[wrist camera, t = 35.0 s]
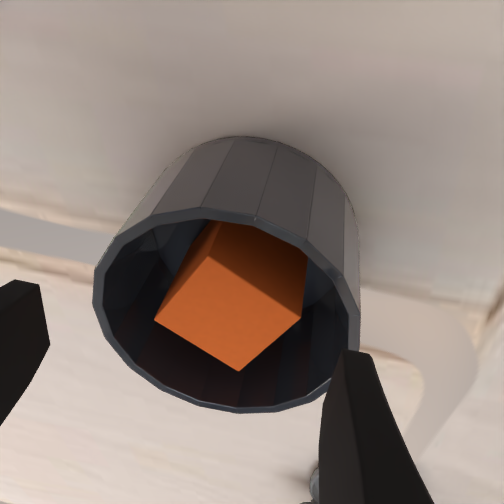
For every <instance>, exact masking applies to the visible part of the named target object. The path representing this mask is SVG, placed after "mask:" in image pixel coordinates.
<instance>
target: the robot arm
mask: <svg viewBox="0 0 504 504" xmlns="http://www.w3.org/2000/svg"><path fill="white" fill-rule="evenodd" d="M49 346H50V340H49V335H48V329H47V324H46V319H45V313H44V308H43V303H42V297H41V292H40V287H39V284H34V283H29V282H25V281H20V280H13V281H11V282H9V283H7V284H5V285H4V286H2V287H0V426H1V424H2V423H3V422H4V420H5V419H6V417H7V416H8V414H9V413H10V412H11V410H12V409H13V407H14V406H15V404H16V403H17V401H18V400H19V399H20V397H21V396H22V394H23V393H24V391H25V390H26V388H27V387H28V385H29V384H30V382H31V381H32V379H33V377H34V375H35V373H36V371H37V370H38V368H39V366H40V364H41V362H42V360H43V358H44V356H45V354H46V352H47V350H48V348H49ZM319 504H434V502H433V500H432V498H431V496H430V494H429V492H428V490H427V488H426V486H425V484H424V482H423V480H422V478H421V476H420V474H419V472H418V470H417V468H416V466H415V464H414V462H413V460H412V458H411V456H410V454H409V451H408V449H407V447H406V445H405V442H404V440H403V438H402V435H401V433H400V431H399V429H398V426H397V424H396V422H395V419H394V417H393V414H392V412H391V409H390V407H389V404H388V402H387V399H386V397H385V394H384V391H383V388H382V386H381V383H380V380H379V377H378V374H377V371H376V368H375V365H374V362H373V359H372V357H371V356H370V354H367V353H363V352H358V351H353V350H348V349H343V348H342V350H341V353H340V356H339V359H338V362H337V365H336V368H335V371H334V374H333V376H332V379H331V382H330V385H329V388H328V391H327V394H326V397H325V400H324V402H323V408H322V418H321V427H320V438H319Z"/></svg>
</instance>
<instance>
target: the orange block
mask: <svg viewBox="0 0 504 504" xmlns="http://www.w3.org/2000/svg"><path fill="white" fill-rule="evenodd" d="M307 263H308V256H307V255H306V254H305V253H304V252H302V251H301V250H300V249H299V248H298V247H296V246H294V245H291V244H289V243H287V242H285V241H283V240H281V239H279V238H277V237H275V236H273V235H271V234H268V233H266V232H264V231H262V230H260V229H258V228H256V227H254V226H250V225H243V224H237V223H230V222H224V221H217V220H211V221H210V222H209V223H208V224H207V226H206V227H205V228H204V229H203V231H202V232H201V233H200V234H199V236H198V237H197V238H196V239H195V241H194V242H193V243H192V244H191V246H190V247H189V249H188V251H187V253H186V255H185V257H184V259H183V261H182V263H181V265H180V267H179V269H178V271H177V273H176V275H175V277H174V279H173V281H172V283H171V286H170V288H169V290H168V292H167V294H166V296H165V298H164V300H163V302H162V304H161V306H160V308H159V310H158V312H157V314H156V316H155V318H154V320H155V321H156V322H158V323H160V324H161V325H163V326H165V327H166V328H168V329H170V330H171V331H173V332H175V333H176V334H178V335H179V336H181V337H183V338H184V339H186V340H188V341H189V342H191V343H193V344H194V345H196V346H197V347H199V348H201V349H202V350H204V351H206V352H207V353H209V354H211V355H212V356H214V357H215V358H217V359H219V360H220V361H222V362H224V363H225V364H227V365H229V366H230V367H232V368H233V369H235V370H237V371H240V370H241V369H242V368H243V367H245V366H246V365H247V364H248V363H249V362H250V361H252V360H253V359H254V358H255V357H256V356H257V355H259V354H260V353H261V352H262V351H263V350H264V349H265V348H267V347H268V346H269V345H270V344H271V343H272V342H274V341H275V340H276V339H277V338H278V337H279V336H281V335H282V334H283V333H284V332H285V331H286V330H288V329H289V328H290V327H291V326H292V325H293V324H295V323H296V322H297V321H298V320H299V319H300V318H301V313H302V305H303V297H304V288H305V280H306V272H307Z"/></svg>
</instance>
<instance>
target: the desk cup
mask: <svg viewBox="0 0 504 504" xmlns="http://www.w3.org/2000/svg"><path fill="white" fill-rule="evenodd" d="M211 220H217V221H224V222H230V223H237V224H243V225H250V226H254V227H256V228H258V229H260V230H262V231H264V232H266V233H268V234H271V235H273V236H275V237H277V238H279V239H281V240H283V241H285V242H287V243H289V244H291V245H294V246H296V247H298V248H299V249H300V250H301V251H302V252H304V253H305V254H306V255H307V256H308V263H307V272H306V280H305V288H304V297H303V305H302V313H301V318H300V319H299V320H298V321H297V322H296V323H295V324H293V325H292V326H291V327H290V328H289V329H288V330H286V331H285V332H284V333H283V334H282V335H281V336H279V337H278V338H277V339H276V340H275V341H274V342H272V343H271V344H270V345H269V346H268V347H267V348H265V349H264V350H263V351H262V352H261V353H260V354H259V355H257V356H256V357H255V358H254V359H253V360H252V361H250V362H249V363H248V364H247V365H246V366H245V367H243V368H242V369H241V370H240V371H237V370H235V369H233V368H232V367H230V366H229V365H227V364H225V363H224V362H222V361H220V360H219V359H217V358H215V357H214V356H212V355H211V354H209V353H207V352H206V351H204V350H202V349H201V348H199V347H197V346H196V345H194V344H193V343H191V342H189V341H188V340H186V339H184V338H183V337H181V336H179V335H178V334H176V333H175V332H173V331H171V330H170V329H168V328H166V327H165V326H163V325H161V324H160V323H158V322H156V321H155V320H154V318H155V316H156V314H157V312H158V310H159V308H160V306H161V304H162V302H163V300H164V298H165V296H166V294H167V292H168V290H169V288H170V286H171V283H172V281H173V279H174V277H175V275H176V273H177V271H178V269H179V267H180V265H181V263H182V261H183V259H184V257H185V255H186V253H187V251H188V249H189V247H190V246H191V244H192V243H193V242H194V241H195V239H196V238H197V237H198V236H199V234H200V233H201V232H202V231H203V229H204V228H205V227H206V226H207V224H208V223H209V222H210V221H211ZM92 304H93V308H94V311H95V313H96V316H97V319H98V321H99V324H100V327H101V329H102V332H103V335H104V337H105V339H106V340H107V341H108V342H109V344H110V345H111V346H112V347H113V349H114V350H115V351H116V352H117V353H118V355H119V356H120V357H121V358H122V360H123V361H124V362H125V363H126V364H127V366H128V367H129V368H131V369H132V370H133V371H135V372H136V373H138V374H139V375H140V376H142V377H143V378H144V379H146V380H147V381H149V382H150V383H151V384H153V385H154V386H155V387H157V388H158V389H160V390H161V391H164V392H166V393H168V394H171V395H173V396H175V397H178V398H180V399H182V400H185V401H187V402H189V403H192V404H194V405H196V406H200V407H205V408H210V409H215V410H221V411H226V412H231V413H236V414H237V413H238V414H245V413H275V412H280V411H283V410H287V409H290V408H293V407H297V406H300V405H303V404H306V403H310V402H312V401H314V400H316V399H317V398H319V397H320V396H321V395H323V394H324V393H326V392H327V391H328V388H329V385H330V382H331V379H332V376H333V374H334V371H335V368H336V365H337V362H338V359H339V356H340V353H341V350H342V348H343V349H348V350H353V351H358V352H359V348H360V323H361V305H360V304H361V303H360V271H359V238H358V226H357V223H356V219H355V215H354V211H353V208H352V206H351V204H350V201H349V199H348V197H347V195H346V194H345V192H344V190H343V189H342V187H341V185H340V184H339V183H338V182H337V181H336V179H335V178H334V177H333V176H332V175H331V174H330V173H329V172H328V171H327V170H326V169H325V168H324V167H323V166H322V165H321V164H319V163H318V162H317V161H315V160H314V159H312V158H311V157H310V156H308V155H306V154H305V153H303V152H301V151H299V150H297V149H295V148H293V147H290V146H288V145H285V144H282V143H280V142H276V141H272V140H268V139H263V138H255V137H230V138H223V139H217V140H214V141H210V142H207V143H204V144H201V145H199V146H197V147H195V148H192V149H191V150H189V151H188V152H186V153H184V154H183V155H181V156H180V157H179V158H178V159H176V160H175V161H174V162H173V163H172V164H171V165H170V166H168V167H167V168H166V169H165V170H164V171H163V173H162V174H161V175H160V177H159V178H158V179H157V181H156V182H155V183H154V185H153V186H152V187H151V189H150V190H149V191H148V193H147V194H146V195H145V197H144V198H143V199H142V201H141V202H140V203H139V205H138V206H137V207H136V209H135V210H134V211H133V213H132V214H131V215H130V217H129V218H128V219H127V221H126V222H125V223H124V225H123V226H122V227H121V229H120V230H119V231H118V233H117V234H116V235H115V237H114V238H113V240H112V241H111V243H110V245H109V246H108V248H107V250H106V251H105V253H104V254H103V256H102V258H101V259H100V261H99V262H98V264H97V266H96V267H95V270H94V283H93V299H92Z"/></svg>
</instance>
